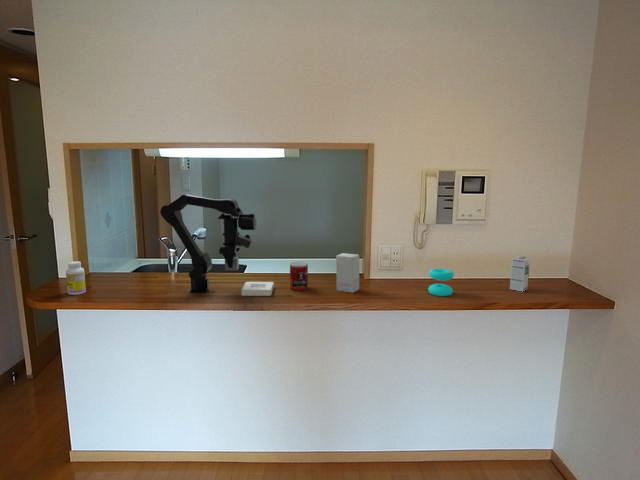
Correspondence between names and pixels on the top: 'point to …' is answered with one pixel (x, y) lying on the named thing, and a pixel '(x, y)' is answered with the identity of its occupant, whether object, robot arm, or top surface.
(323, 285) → the top surface
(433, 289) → the donuts
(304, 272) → the canned food
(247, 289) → the socket plate
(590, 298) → the top surface
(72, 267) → the supplement bottle
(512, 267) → the syrup box
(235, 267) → the plug
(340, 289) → the skincare box
